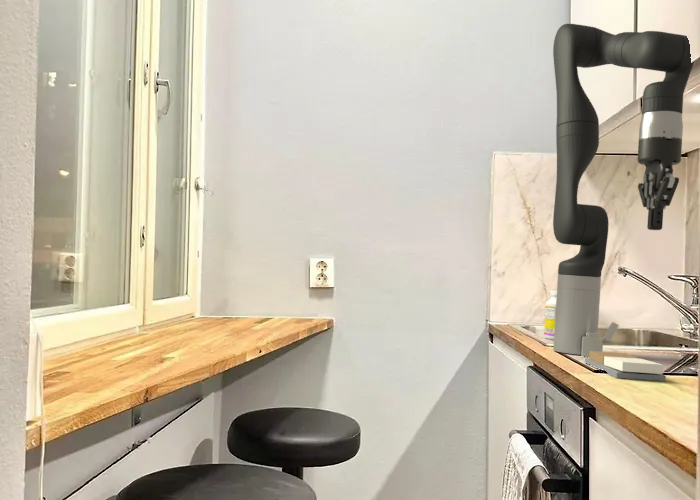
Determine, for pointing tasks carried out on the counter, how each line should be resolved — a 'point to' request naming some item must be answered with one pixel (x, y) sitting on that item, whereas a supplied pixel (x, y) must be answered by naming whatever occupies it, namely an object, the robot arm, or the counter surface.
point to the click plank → (633, 365)
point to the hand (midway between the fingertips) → (654, 229)
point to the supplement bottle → (550, 316)
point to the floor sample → (598, 361)
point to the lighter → (596, 340)
